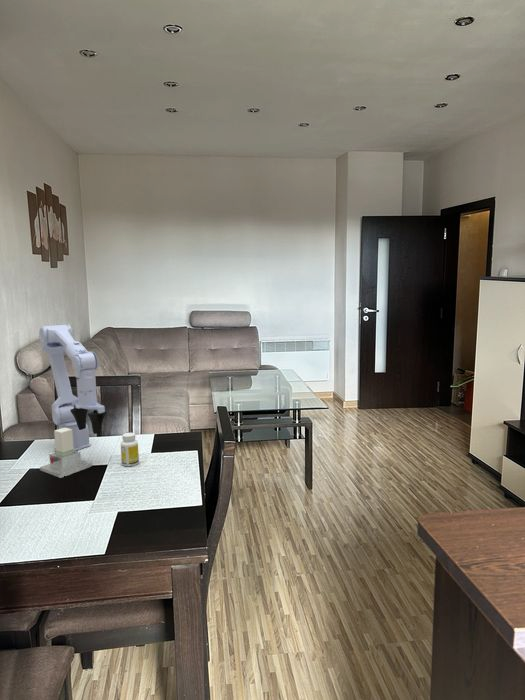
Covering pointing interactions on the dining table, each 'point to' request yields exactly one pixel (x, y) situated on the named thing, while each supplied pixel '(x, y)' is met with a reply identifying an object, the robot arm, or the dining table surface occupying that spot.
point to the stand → (65, 464)
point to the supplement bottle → (129, 450)
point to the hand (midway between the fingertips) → (89, 431)
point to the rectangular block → (64, 442)
